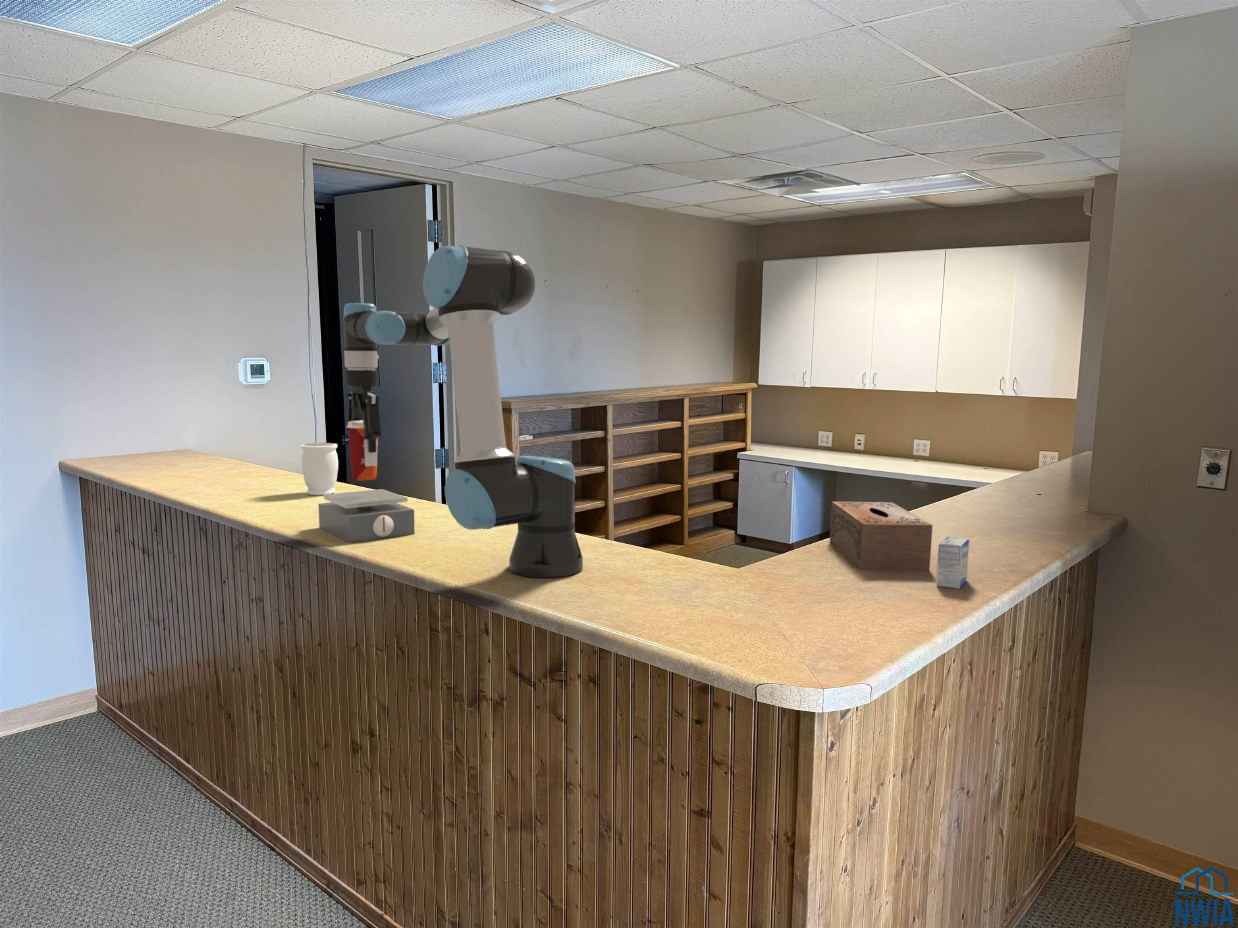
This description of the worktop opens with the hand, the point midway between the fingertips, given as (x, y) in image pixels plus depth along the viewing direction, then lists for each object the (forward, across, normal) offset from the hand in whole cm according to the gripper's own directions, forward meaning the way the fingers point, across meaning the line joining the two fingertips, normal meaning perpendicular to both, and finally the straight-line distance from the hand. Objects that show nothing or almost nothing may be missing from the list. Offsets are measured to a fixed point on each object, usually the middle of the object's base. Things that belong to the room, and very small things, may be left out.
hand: (364, 463), depth 203 cm
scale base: (+17, 0, 0) cm, 17 cm away
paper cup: (+4, 0, 0) cm, 4 cm away
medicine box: (+16, -111, -75) cm, 135 cm away
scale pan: (+10, 0, 0) cm, 10 cm away
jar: (+17, +57, -9) cm, 60 cm away
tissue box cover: (+17, -89, -83) cm, 122 cm away
